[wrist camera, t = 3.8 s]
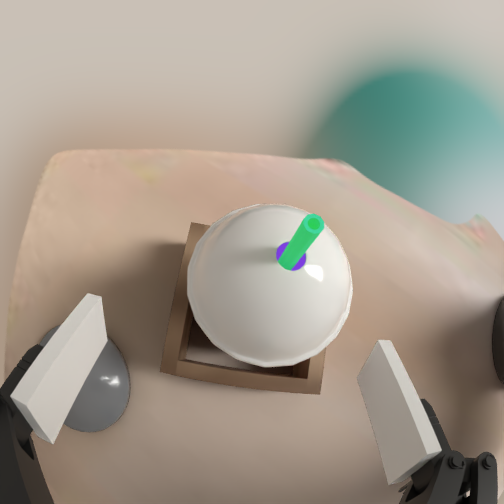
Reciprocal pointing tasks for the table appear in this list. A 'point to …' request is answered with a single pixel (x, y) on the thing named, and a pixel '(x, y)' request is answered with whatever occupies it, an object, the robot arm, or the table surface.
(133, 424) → the table surface
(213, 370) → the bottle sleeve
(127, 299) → the table surface
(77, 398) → the slate coaster
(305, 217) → the smoothie
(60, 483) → the table surface
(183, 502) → the table surface
